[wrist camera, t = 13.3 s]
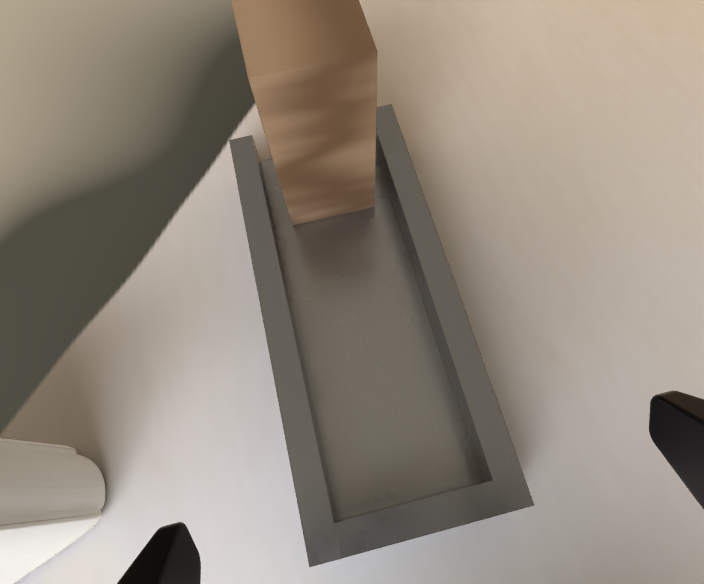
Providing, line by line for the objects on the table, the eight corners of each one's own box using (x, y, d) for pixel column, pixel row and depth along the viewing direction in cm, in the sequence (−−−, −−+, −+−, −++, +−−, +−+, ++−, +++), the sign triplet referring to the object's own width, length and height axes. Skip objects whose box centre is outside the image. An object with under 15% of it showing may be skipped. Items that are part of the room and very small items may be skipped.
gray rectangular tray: (512, 502, 21) (534, 505, 18) (317, 556, 21) (309, 566, 18) (389, 141, 29) (391, 104, 26) (243, 174, 28) (229, 140, 25)
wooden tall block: (292, 225, 26) (248, 78, 16) (275, 150, 28) (227, -20, 18) (374, 206, 26) (377, 51, 17) (352, 133, 28) (343, -43, 19)
